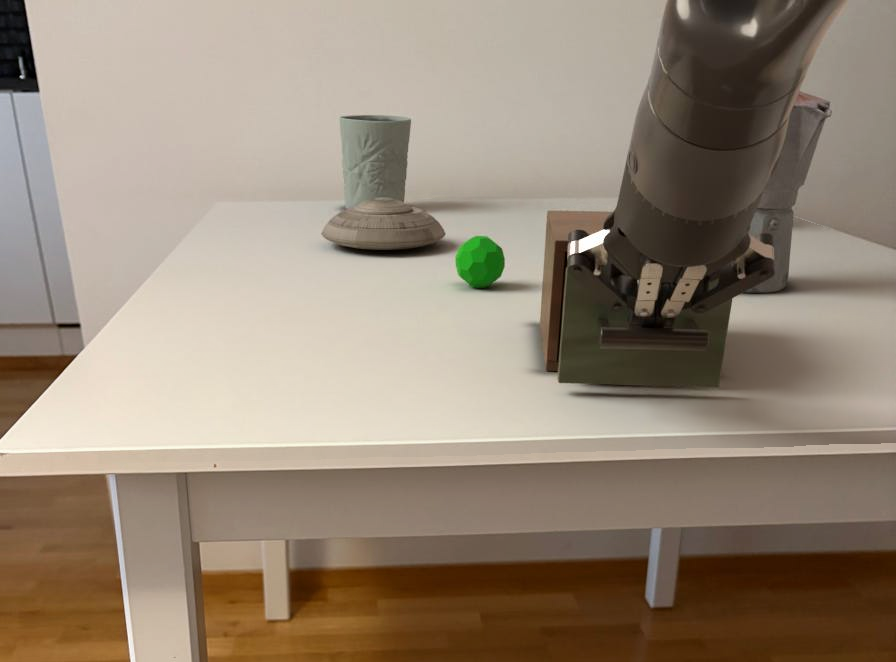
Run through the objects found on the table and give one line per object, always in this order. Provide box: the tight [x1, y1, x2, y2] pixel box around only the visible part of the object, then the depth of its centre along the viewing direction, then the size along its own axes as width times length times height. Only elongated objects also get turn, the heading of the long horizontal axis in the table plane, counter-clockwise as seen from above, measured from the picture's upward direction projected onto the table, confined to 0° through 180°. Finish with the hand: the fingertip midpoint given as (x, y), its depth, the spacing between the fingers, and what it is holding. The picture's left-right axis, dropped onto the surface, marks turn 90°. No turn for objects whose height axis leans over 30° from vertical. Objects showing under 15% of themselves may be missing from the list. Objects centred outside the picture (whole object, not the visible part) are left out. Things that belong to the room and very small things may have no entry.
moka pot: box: [744, 91, 833, 294], centre depth 104 cm, size 10×15×20 cm, turn 33°
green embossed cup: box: [338, 114, 412, 209], centre depth 150 cm, size 10×10×12 cm
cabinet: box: [539, 210, 613, 372], centre depth 84 cm, size 15×13×10 cm
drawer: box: [557, 252, 734, 388], centre depth 76 cm, size 18×11×8 cm, turn 176°
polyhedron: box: [454, 235, 506, 289], centre depth 106 cm, size 5×5×5 cm
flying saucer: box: [320, 197, 447, 251], centre depth 125 cm, size 15×15×6 cm
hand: (645, 332), depth 72 cm, fingers closed
